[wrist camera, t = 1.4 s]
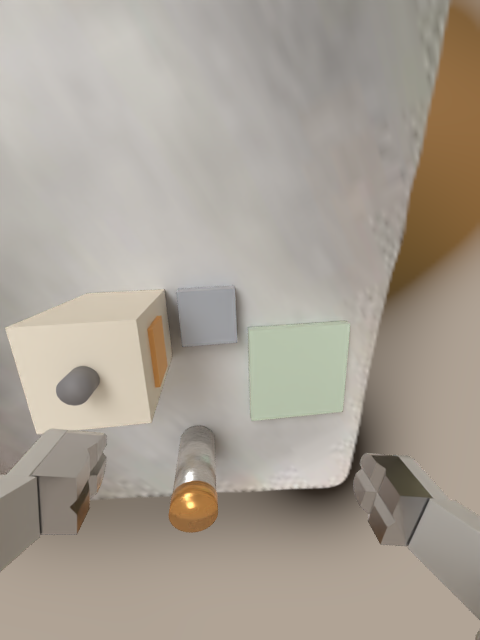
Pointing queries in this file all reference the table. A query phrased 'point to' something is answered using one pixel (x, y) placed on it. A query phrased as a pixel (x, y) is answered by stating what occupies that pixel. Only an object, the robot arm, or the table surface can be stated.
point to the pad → (297, 369)
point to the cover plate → (207, 315)
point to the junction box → (94, 360)
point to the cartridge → (195, 482)
